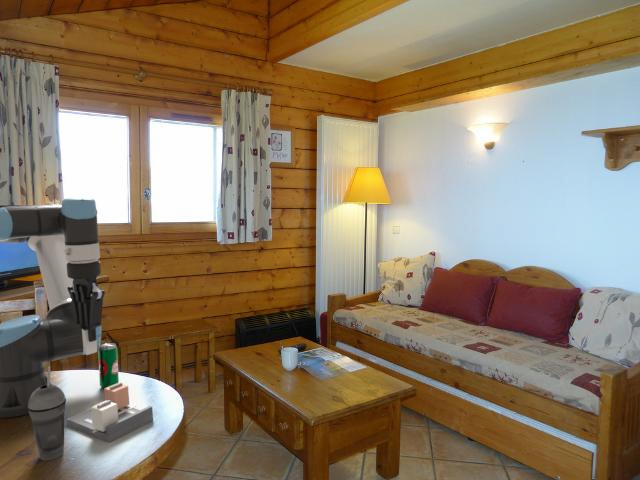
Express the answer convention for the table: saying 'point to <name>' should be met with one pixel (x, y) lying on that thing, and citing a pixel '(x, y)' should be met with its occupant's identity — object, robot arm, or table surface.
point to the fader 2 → (104, 415)
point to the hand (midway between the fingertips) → (90, 352)
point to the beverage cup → (48, 419)
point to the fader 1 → (117, 395)
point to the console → (125, 424)
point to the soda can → (108, 365)
